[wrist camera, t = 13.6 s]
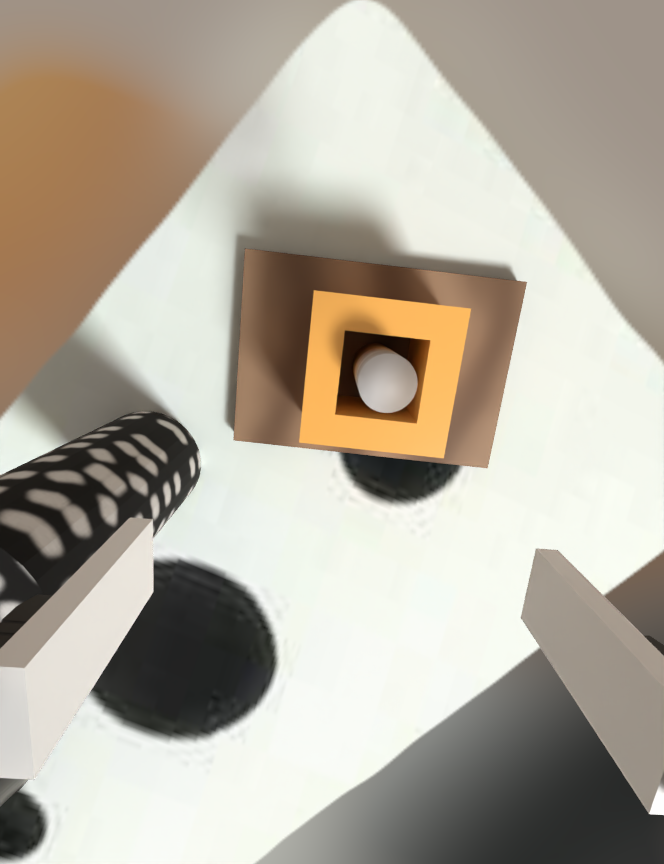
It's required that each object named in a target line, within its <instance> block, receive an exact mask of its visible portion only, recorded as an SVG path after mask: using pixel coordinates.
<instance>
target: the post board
mask: <svg viewBox="0 0 664 864" xmlns="http://www.w3.org/2000/svg"><path fill="white" fill-rule="evenodd" d="M526 284H527V282H522V281H514V280H505V279H497V278H489V277H480V276H472V275H463V274H455V273H447V272H438V271H430V270H421V269H413V268H405V267H396V266H388V265H380V264H371V263H363V262H354V261H346V260H338V259H329V258H321V257H312V256H304V255H296V254H287V253H279V252H270V251H262V250H254V249H245V256H244V273H243V290H242V307H241V324H240V340H239V357H238V374H237V391H236V407H235V424H234V440H236V441H245V442H254V443H263V444H272V445H281V446H291V447H300V448H309V449H318V450H327V451H336V452H345V453H354V454H363V455H372V456H381V457H390V458H399V459H409V460H418V461H427V462H436V463H445V464H454V465H463V466H472V467H481V468H488V464H489V459H490V454H491V449H492V445H493V440H494V435H495V431H496V426H497V421H498V416H499V412H500V407H501V402H502V397H503V393H504V388H505V383H506V378H507V374H508V369H509V364H510V360H511V355H512V350H513V345H514V341H515V336H516V331H517V326H518V322H519V317H520V312H521V308H522V303H523V298H524V293H525V289H526ZM314 290H316V291H324V292H333V293H342V294H350V295H359V296H367V297H376V298H384V299H393V300H401V301H410V302H419V303H427V304H436V305H444V306H453V307H461V308H470V309H471V313H470V318H469V323H468V329H467V334H466V340H465V345H464V351H463V356H462V362H461V367H460V372H459V378H458V383H457V389H456V394H455V400H454V405H453V411H452V416H451V421H450V427H449V432H448V438H447V443H446V449H445V454H444V458H436V457H426V456H417V455H408V454H399V453H390V452H381V451H372V450H363V449H354V448H344V447H335V446H326V445H317V444H308V443H299V438H300V428H301V418H302V407H303V397H304V387H305V376H306V366H307V356H308V346H309V335H310V325H311V315H312V305H313V294H314ZM409 345H410V338H407V337H398V336H389V335H381V334H372V333H363V332H355V331H346V330H345V333H344V342H343V351H342V359H341V368H340V376H339V385H338V394H337V395H343V396H352V397H361V398H362V400H363V401H364V402H365V404H366V405H367V406H369V407H370V408H371V409H373V410H375V411H378V412H382V413H392V412H396V411H399V410H401V409H403V408H404V407H406V406H407V405H408V404H409V403H410V402H411V401H412V399H413V398H414V396H415V393H416V390H417V384H418V381H417V375H416V372H415V370H414V368H413V366H412V365H411V364H410V363H409V362H408V361H407V358H408V351H409Z"/></svg>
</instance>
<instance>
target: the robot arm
mask: <svg viewBox="0 0 664 864" xmlns="http://www.w3.org/2000/svg"><path fill="white" fill-rule="evenodd" d="M152 593H153V519H142V518H129V519H128V520H127V521H126V522H125V523H124V524H123V525H122V526H121V527H120V528H119V529H118V530H117V531H116V532H115V533H114V534H113V535H112V536H111V537H110V538H109V539H108V540H107V541H106V542H105V543H104V544H103V545H102V546H101V547H100V548H99V549H98V550H97V551H96V552H95V553H94V554H93V555H92V556H91V557H90V558H89V559H88V560H87V561H86V562H85V563H84V564H83V565H82V566H81V567H80V568H79V570H78V571H77V572H76V573H75V574H74V575H73V576H72V577H71V578H70V579H69V580H68V581H67V582H66V583H65V584H64V585H63V586H62V587H61V588H60V589H59V590H58V591H57V592H56V593H55V594H54V595H53V596H52V595H36V596H34V597H32V598H30V599H28V600H27V601H25V602H23V603H21V604H19V605H18V606H16V607H15V608H14V609H13V610H12V611H11V612H10V613H9V614H8V615H6V616H5V617H4V618H3V619H2V621H1V623H0V806H1V805H2V804H3V803H4V802H5V801H7V800H8V799H9V798H10V797H11V796H12V795H13V794H15V793H16V792H17V791H19V790H20V789H21V788H22V787H23V786H24V784H25V783H26V782H27V781H28V780H35V778H36V777H37V775H38V773H39V772H40V770H41V769H42V767H43V766H44V764H45V762H46V761H47V759H48V758H49V756H50V754H51V753H52V751H53V750H54V748H55V747H56V745H57V743H58V742H59V740H60V739H61V737H62V735H63V734H64V732H65V731H66V729H67V728H68V726H69V724H70V723H71V721H72V720H73V718H74V716H75V715H76V713H77V712H78V710H79V709H80V707H81V705H82V704H83V702H84V701H85V699H86V697H87V696H88V694H89V693H90V691H91V690H92V688H93V686H94V685H95V683H96V682H97V680H98V678H99V677H100V675H101V674H102V672H103V671H104V669H105V667H106V666H107V664H108V663H109V661H110V659H111V658H112V656H113V655H114V653H115V652H116V650H117V648H118V647H119V645H120V644H121V642H122V640H123V639H124V637H125V636H126V634H127V633H128V631H129V629H130V628H131V626H132V625H133V623H134V621H135V620H136V618H137V617H138V615H139V614H140V612H141V610H142V609H143V607H144V606H145V604H146V602H147V601H148V599H149V598H150V596H151V595H152ZM521 619H522V620H523V622H524V623H525V625H526V626H527V628H528V629H529V631H530V632H531V634H532V636H533V637H534V639H535V640H536V642H537V643H538V645H539V646H540V648H541V649H542V651H543V652H544V654H545V655H546V657H547V658H548V660H549V662H550V663H551V664H552V666H553V667H554V669H555V671H556V672H557V674H558V675H559V677H560V678H561V680H562V681H563V683H564V684H565V686H566V687H567V689H568V690H569V692H570V694H571V695H572V697H573V698H574V700H575V701H576V703H577V704H578V706H579V707H580V709H581V710H582V712H583V714H584V715H585V717H586V718H587V720H588V721H589V723H590V724H591V726H592V727H593V729H594V730H595V732H596V733H597V735H598V736H599V738H600V740H601V741H602V743H603V744H604V746H605V747H606V749H607V750H608V752H609V753H610V755H611V756H612V758H613V759H614V761H615V762H616V764H617V766H618V767H619V769H620V770H621V772H622V773H623V775H624V776H625V778H626V779H627V781H628V782H629V784H630V785H631V787H632V788H633V790H634V791H635V793H636V795H637V796H638V798H639V799H640V801H641V802H642V804H643V805H644V807H645V808H646V810H647V811H648V813H649V814H659V815H664V645H663V644H661V643H660V642H658V641H657V640H655V639H654V638H652V637H650V636H643V635H642V634H641V633H640V632H639V631H638V630H637V629H636V628H635V627H634V626H633V625H632V624H631V623H630V622H629V621H628V620H627V619H626V618H625V617H624V616H623V615H622V614H621V613H620V612H619V611H618V610H617V609H616V608H615V607H614V606H613V605H612V604H611V603H610V602H609V601H608V600H607V599H606V598H605V597H604V596H603V595H602V594H601V593H600V592H599V591H598V590H597V589H596V588H595V587H594V586H593V585H592V584H591V583H590V582H589V581H588V580H587V579H586V578H585V577H584V576H583V575H582V574H581V573H580V572H579V571H578V570H577V569H576V568H575V567H574V566H573V565H572V564H571V563H570V562H569V561H568V560H567V559H566V558H565V557H564V556H563V555H562V554H561V553H560V552H559V551H558V550H548V549H536V551H535V556H534V560H533V565H532V569H531V574H530V578H529V583H528V587H527V592H526V596H525V601H524V605H523V610H522V615H521Z"/></svg>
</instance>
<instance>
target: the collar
mask: <svg viewBox="0 0 664 864" xmlns="http://www.w3.org/2000/svg"><path fill="white" fill-rule="evenodd" d="M470 313H471V309H470V308H461V307H453V306H444V305H436V304H427V303H419V302H410V301H401V300H393V299H384V298H376V297H367V296H359V295H350V294H342V293H333V292H324V291H316V290H314V294H313V305H312V315H311V325H310V335H309V346H308V356H307V366H306V376H305V387H304V397H303V407H302V418H301V428H300V438H299V443H308V444H317V445H326V446H335V447H344V448H354V449H363V450H372V451H381V452H390V453H399V454H408V455H417V456H426V457H436V458H444V454H445V449H446V443H447V438H448V432H449V427H450V421H451V416H452V411H453V405H454V400H455V394H456V389H457V383H458V378H459V372H460V367H461V362H462V356H463V351H464V345H465V340H466V334H467V329H468V323H469V318H470ZM345 330H346V331H355V332H363V333H372V334H381V335H389V336H398V337H407V338H410V345H409V351H408V358H407V361H408V362H409V363H410V364H411V365H412V366H413V368H414V370H415V372H416V375H417V381H418V384H417V390H416V393H415V396H414V398H413V399H412V401H411V402H410V403H409V404H408V405H407V406H406V407H404V408H403V409H401V410H399V411H396V412H392V413H382V412H378V411H375V410H373V409H371V408H370V407H369V406H367V405H366V404H365V402H364V401H363V400H362V398H361V397H352V396H343V395H337V394H338V385H339V376H340V368H341V359H342V351H343V342H344V333H345Z"/></svg>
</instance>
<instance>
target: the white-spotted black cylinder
mask: <svg viewBox="0 0 664 864" xmlns="http://www.w3.org/2000/svg"><path fill="white" fill-rule="evenodd" d="M200 470H201V458H200V454H199V449H198V447H197V445H196V443H195V440H194V439H193V438H192V436H191V435H190V433H189V432H188V431H187V430H186V429H185V428H184V427H183V426H182V425H181V424H180V423H178V422H177V421H175V420H174V419H172V418H170V417H168V416H165V415H163V414H159V413H155V412H144V411H142V412H135V413H131V414H128V415H125V416H123V417H121V418H119V419H117V420H115V421H113V422H110V423H108V424H106V425H104V426H102V427H100V428H98V429H96V430H94V431H92V432H90V433H88V434H85V435H83V436H81V437H79V438H77V439H75V440H73V441H71V442H69V443H67V444H65V445H63V446H60V447H58V448H56V449H54V450H52V451H50V452H48V453H46V454H44V455H42V456H40V457H38V458H35V459H33V460H31V461H29V462H27V463H25V464H23V465H21V466H19V467H17V468H15V469H12V470H10V471H8V472H6V473H4V474H2V475H0V623H1V621H2V619H3V618H4V617H5V616H6V615H8V614H9V613H10V612H11V611H12V610H13V609H14V608H15V607H16V606H18V605H19V604H21V603H23V602H25V601H27V600H28V599H30V598H32V597H34V596H36V595H52V596H53V595H54V594H55V593H56V592H57V591H58V590H59V589H60V588H61V587H62V586H63V585H64V584H65V583H66V582H67V581H68V580H69V579H70V578H71V577H72V576H73V575H74V574H75V573H76V572H77V571H78V570H79V568H80V567H81V566H82V565H83V564H84V563H85V562H86V561H87V560H88V559H89V558H90V557H91V556H92V555H93V554H94V553H95V552H96V551H97V550H98V549H99V548H100V547H101V546H102V545H103V544H104V543H105V542H106V541H107V540H108V539H109V538H110V537H111V536H112V535H113V534H114V533H115V532H116V531H117V530H118V529H119V528H120V527H121V526H122V525H123V524H124V523H125V522H126V521H127V520H128V519H129V518H142V519H153V538H154V537H155V536H156V535H157V533H158V532H159V531H160V530H161V528H162V527H163V526H164V525H165V523H166V522H167V521H168V520H169V519H170V517H171V516H172V515H173V514H174V512H175V511H176V510H177V509H178V507H179V506H180V505H181V504H182V503H183V501H184V500H185V499H186V498H187V496H188V495H189V494H190V493H191V491H192V490H193V489H194V487H195V486H196V483H197V481H198V479H199V475H200Z"/></svg>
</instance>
